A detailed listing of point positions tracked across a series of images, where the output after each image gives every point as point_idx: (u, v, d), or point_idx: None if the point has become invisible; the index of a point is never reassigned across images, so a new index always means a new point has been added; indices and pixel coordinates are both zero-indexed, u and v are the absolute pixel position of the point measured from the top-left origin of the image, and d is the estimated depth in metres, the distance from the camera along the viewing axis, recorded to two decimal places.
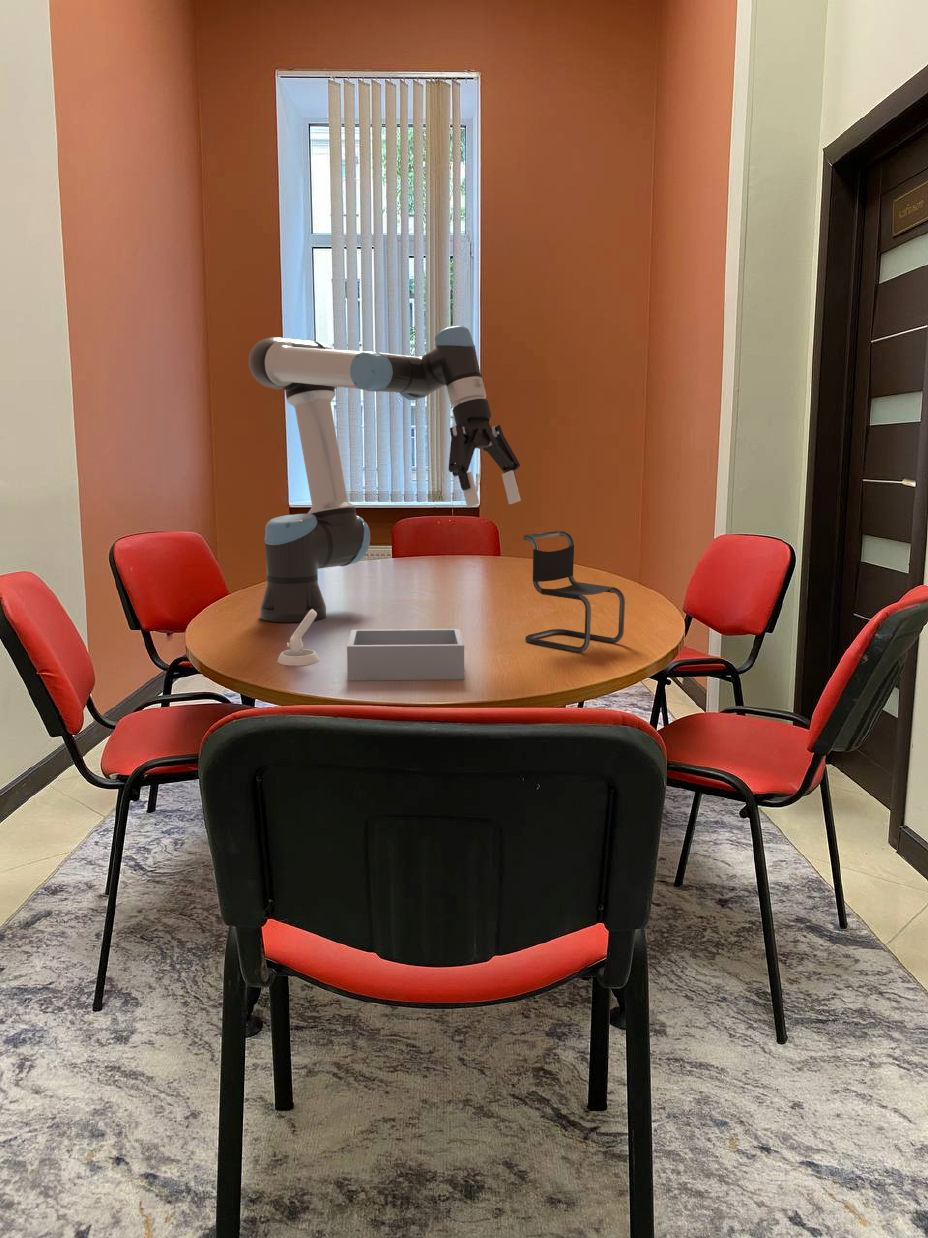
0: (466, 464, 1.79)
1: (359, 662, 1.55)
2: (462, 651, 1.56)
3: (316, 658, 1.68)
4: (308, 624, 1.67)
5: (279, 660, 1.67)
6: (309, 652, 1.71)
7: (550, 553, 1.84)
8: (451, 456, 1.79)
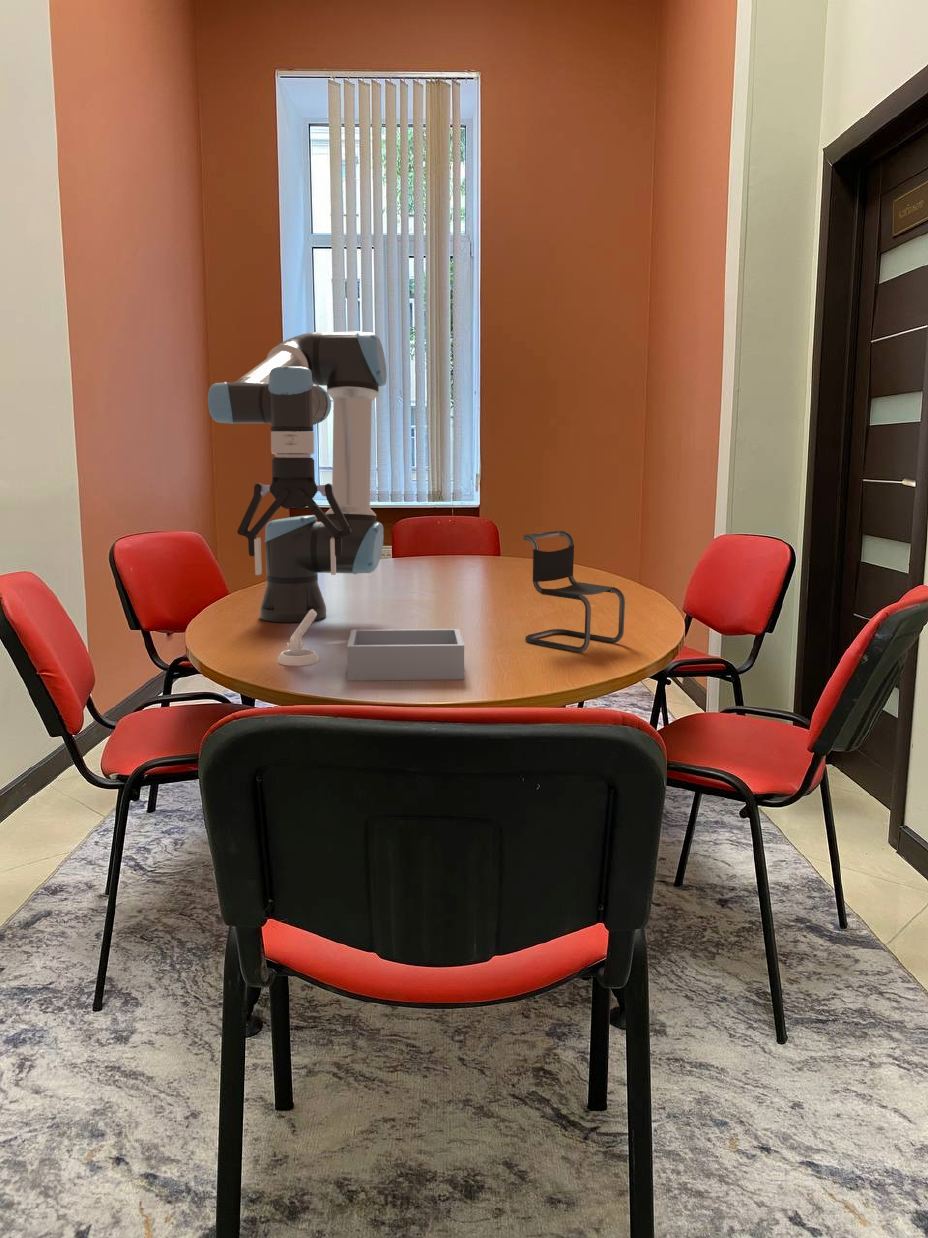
0: (253, 531, 1.63)
1: (359, 662, 1.55)
2: (462, 651, 1.56)
3: (316, 658, 1.68)
4: (308, 624, 1.67)
5: (279, 660, 1.67)
6: (309, 652, 1.71)
7: (550, 553, 1.84)
8: None
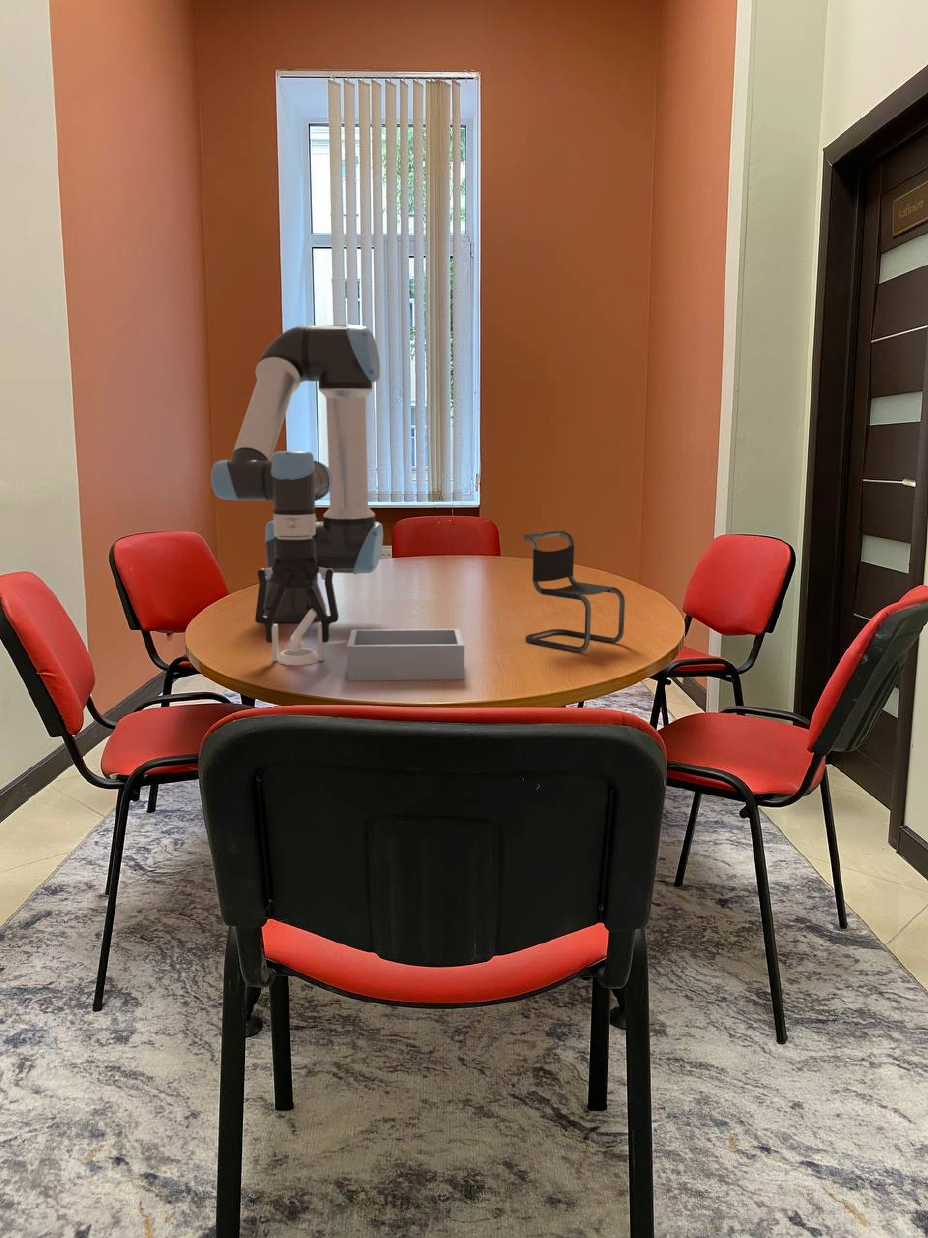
0: (270, 618, 1.66)
1: (359, 662, 1.55)
2: (462, 651, 1.56)
3: (316, 658, 1.68)
4: (308, 624, 1.67)
5: (279, 660, 1.67)
6: (309, 652, 1.71)
7: (550, 553, 1.84)
8: None
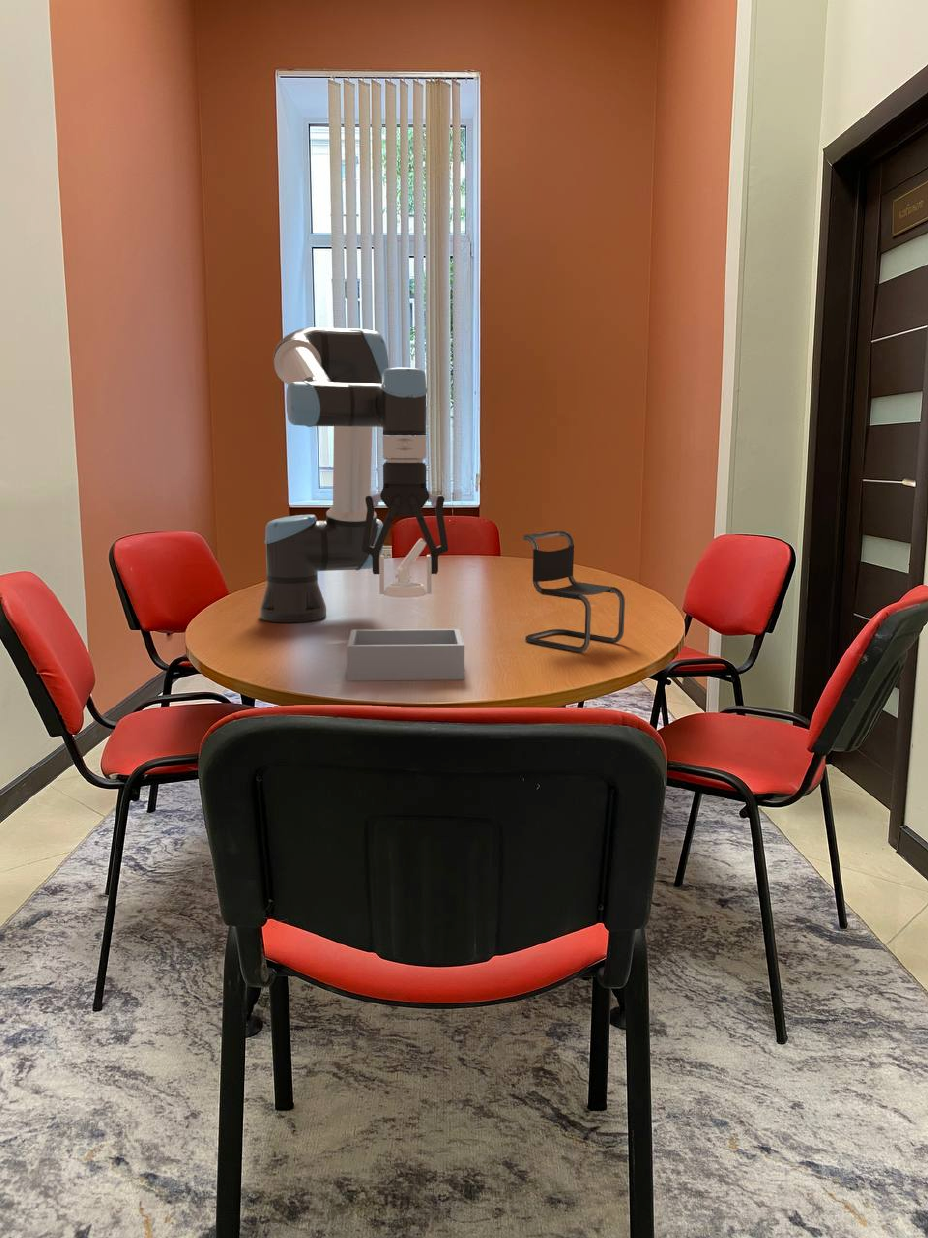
0: (377, 547, 1.57)
1: (359, 662, 1.55)
2: (462, 651, 1.56)
3: (425, 590, 1.59)
4: (417, 553, 1.57)
5: (386, 592, 1.58)
6: (415, 585, 1.62)
7: (550, 553, 1.84)
8: None
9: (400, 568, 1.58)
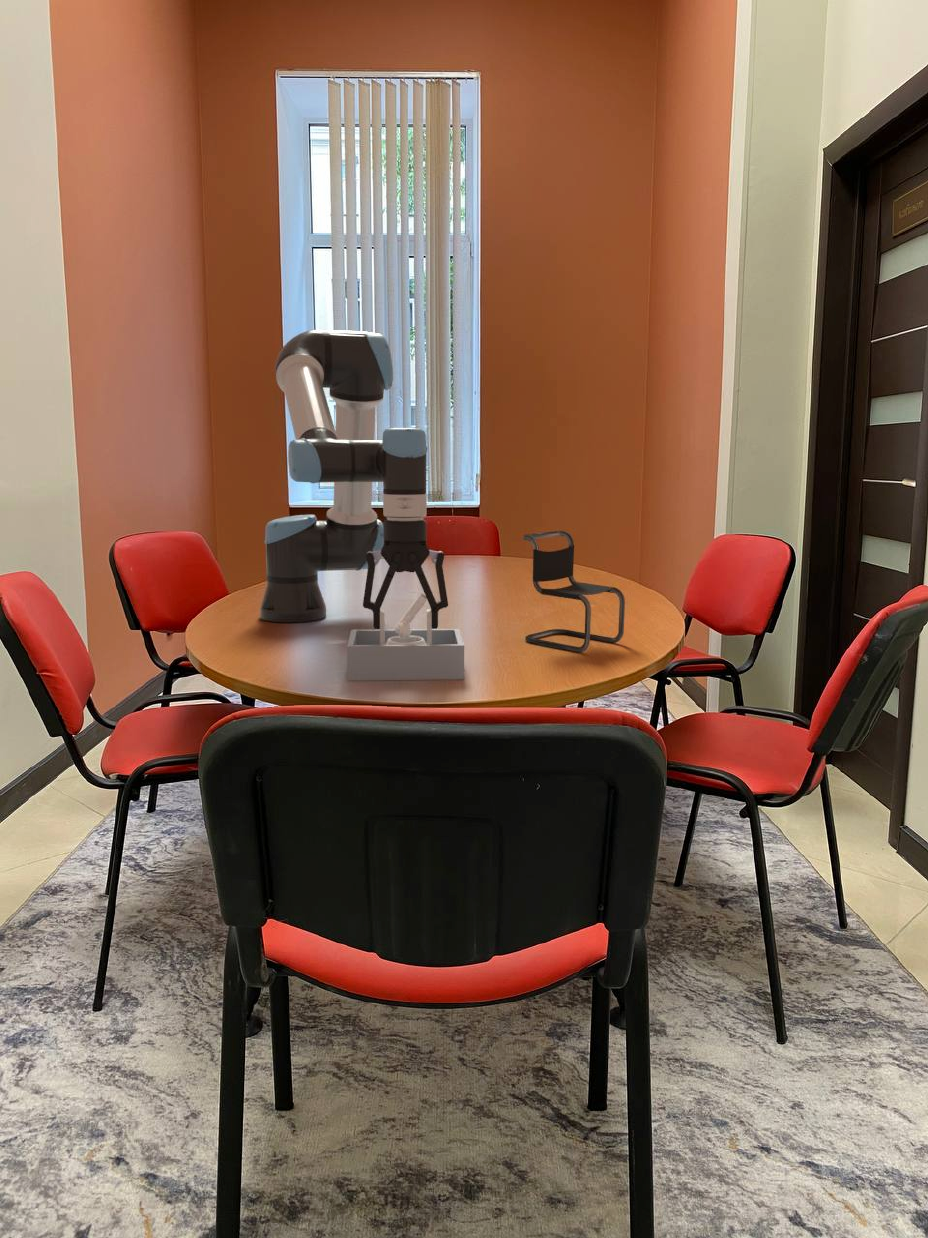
0: (378, 603, 1.59)
1: (359, 662, 1.55)
2: (462, 651, 1.56)
3: None
4: (418, 609, 1.59)
5: None
6: (416, 639, 1.64)
7: (550, 553, 1.84)
8: None
9: (400, 623, 1.59)
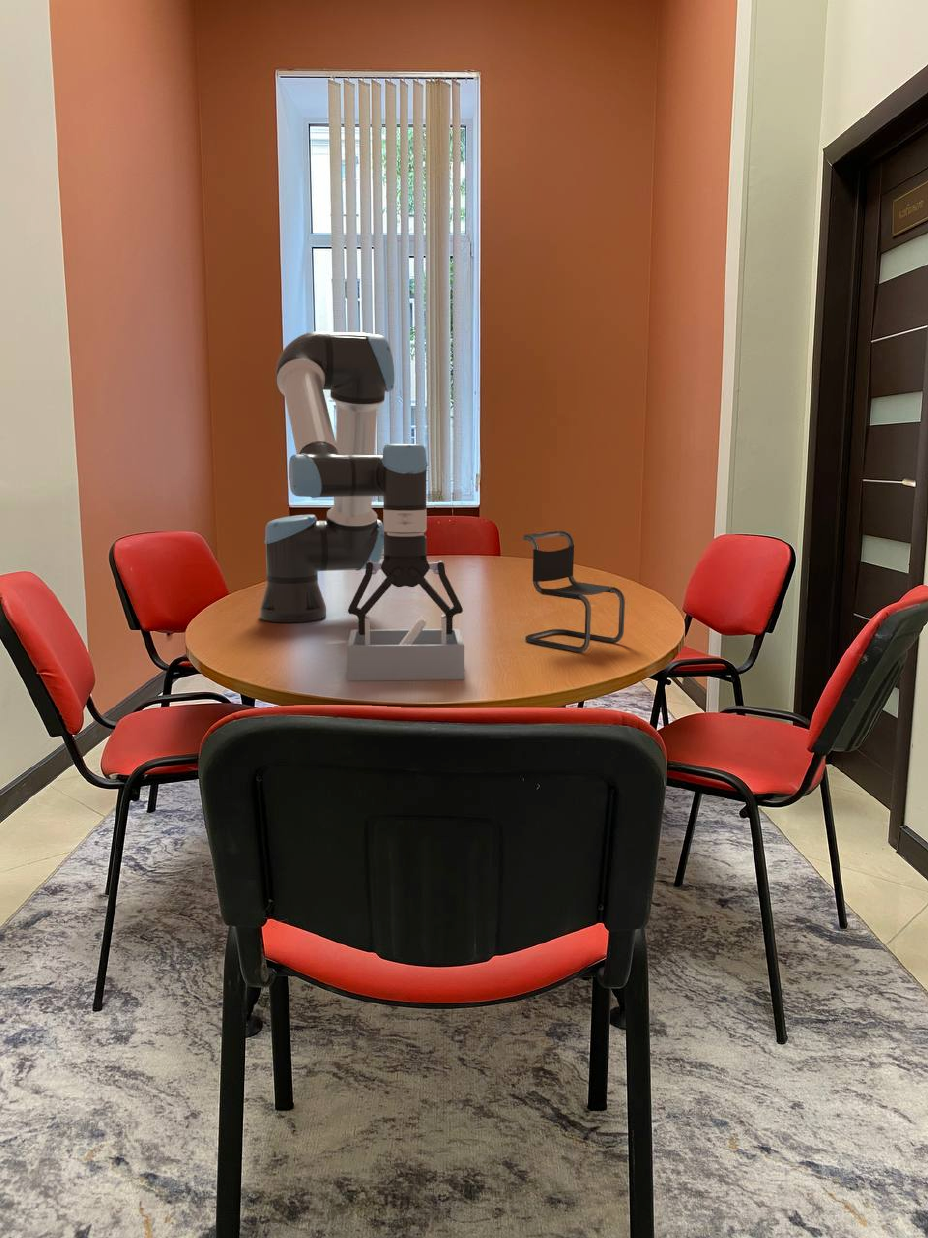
0: (364, 610, 1.59)
1: (359, 662, 1.55)
2: (462, 651, 1.56)
3: None
4: (418, 632, 1.60)
5: None
6: None
7: (550, 553, 1.84)
8: None
9: None
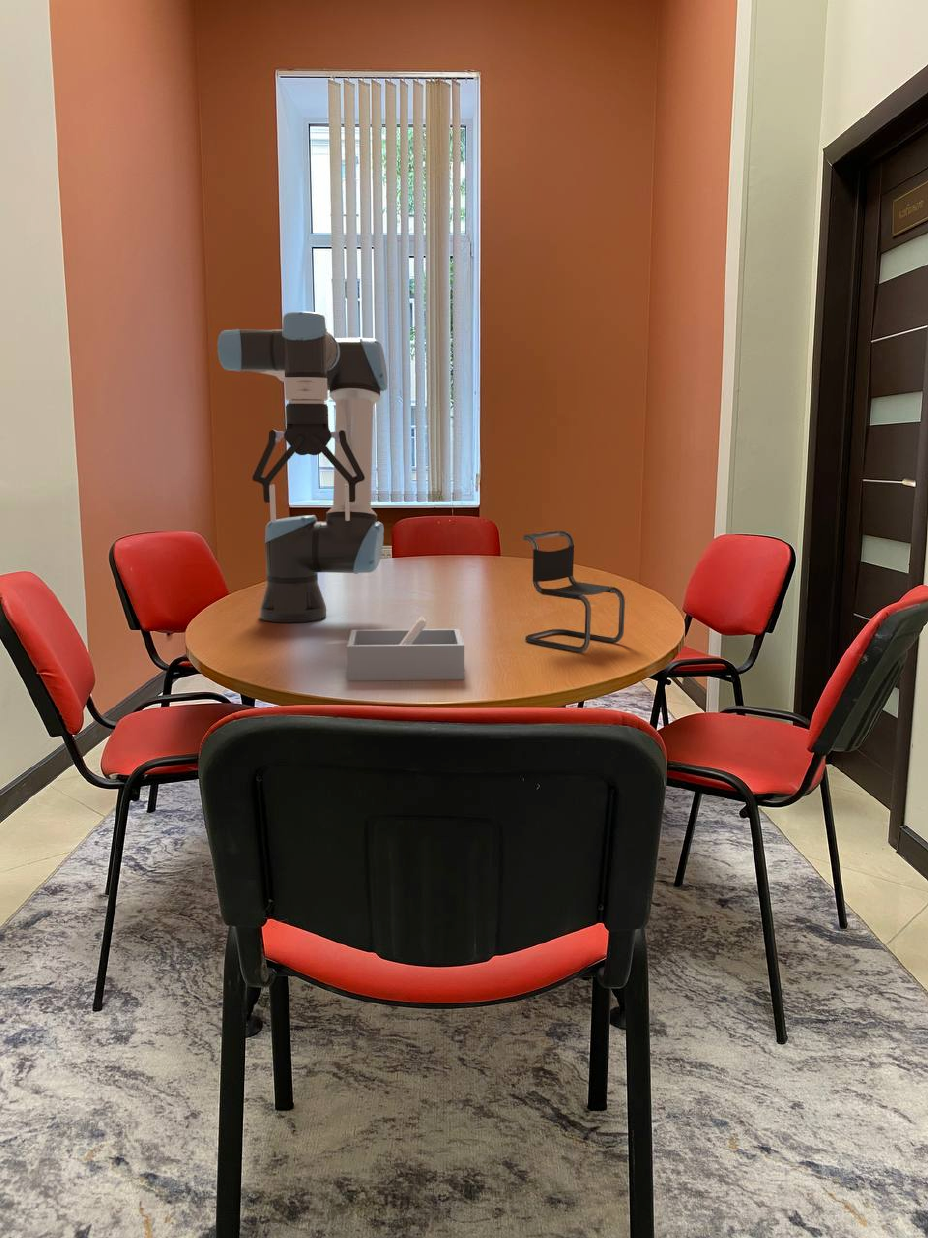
0: (268, 477, 1.64)
1: (359, 662, 1.55)
2: (462, 651, 1.56)
3: None
4: (418, 632, 1.60)
5: None
6: None
7: (550, 553, 1.84)
8: None
9: None
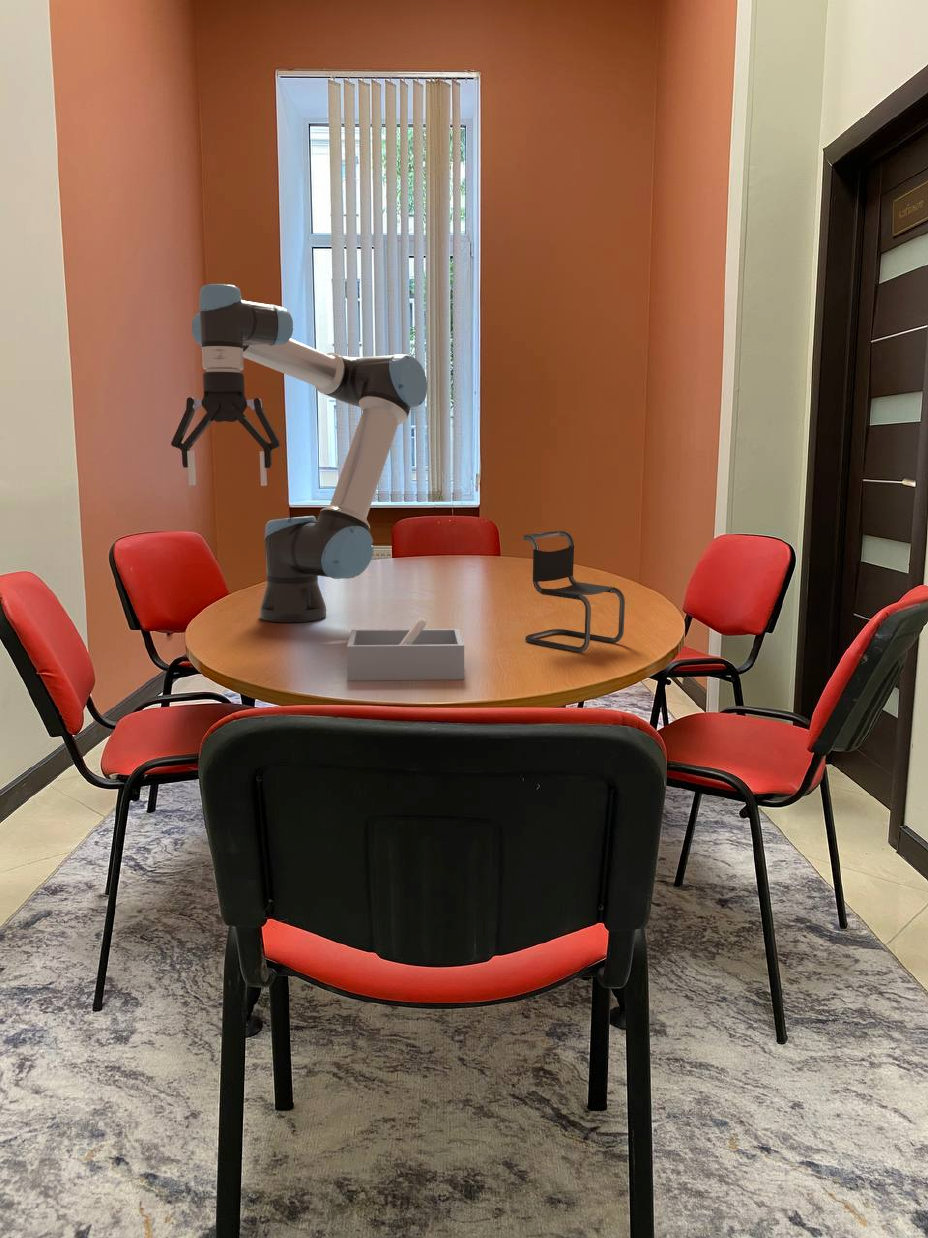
0: (186, 443, 1.72)
1: (359, 662, 1.55)
2: (462, 651, 1.56)
3: None
4: (418, 632, 1.60)
5: None
6: None
7: (550, 553, 1.84)
8: None
9: None
